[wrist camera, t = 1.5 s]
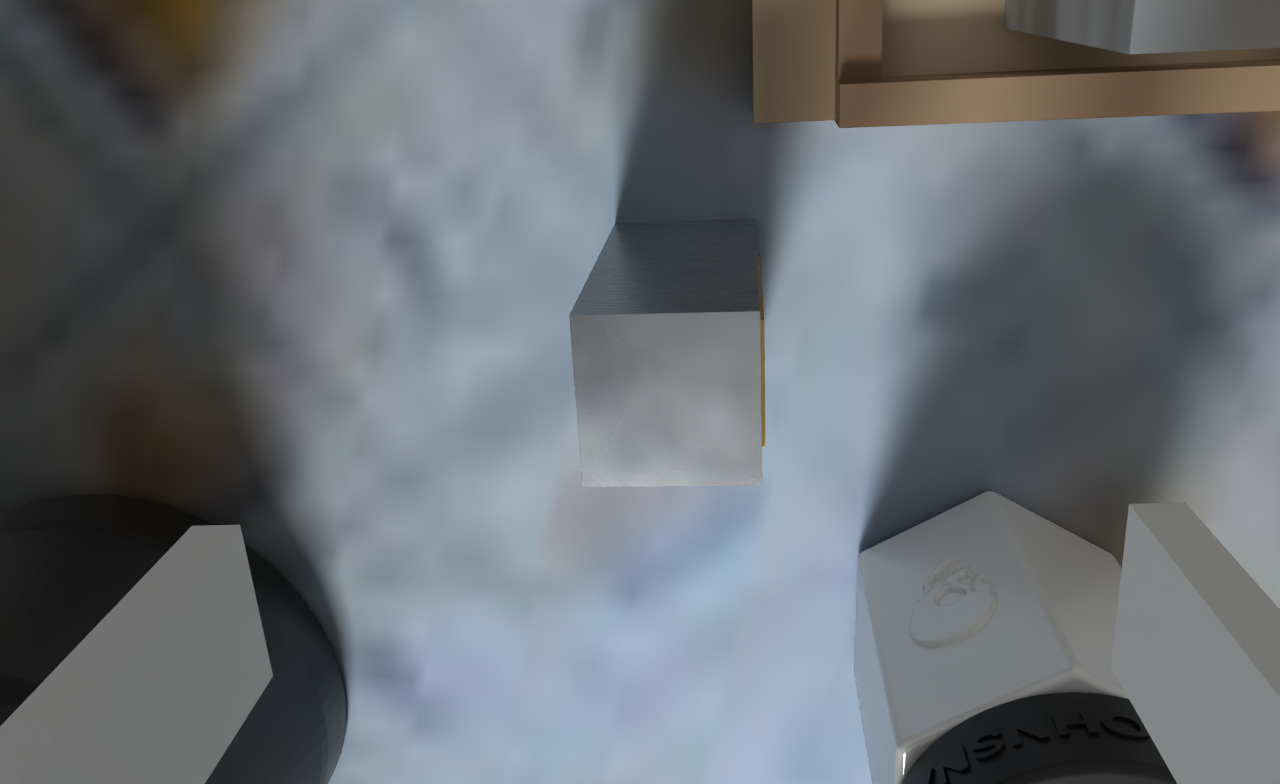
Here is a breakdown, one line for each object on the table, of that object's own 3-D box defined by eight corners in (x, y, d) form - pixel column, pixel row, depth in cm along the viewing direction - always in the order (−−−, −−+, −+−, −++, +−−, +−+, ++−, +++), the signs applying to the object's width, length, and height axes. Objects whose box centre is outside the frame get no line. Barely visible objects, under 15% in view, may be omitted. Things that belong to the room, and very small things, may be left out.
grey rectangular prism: (758, 219, 31) (765, 310, 22) (759, 352, 32) (766, 485, 24) (615, 224, 31) (569, 315, 23) (622, 354, 32) (582, 486, 24)
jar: (1054, 447, 32) (1219, 696, 21) (1164, 648, 35) (1367, 970, 23) (792, 575, 35) (817, 860, 24) (910, 756, 37) (985, 1095, 26)
